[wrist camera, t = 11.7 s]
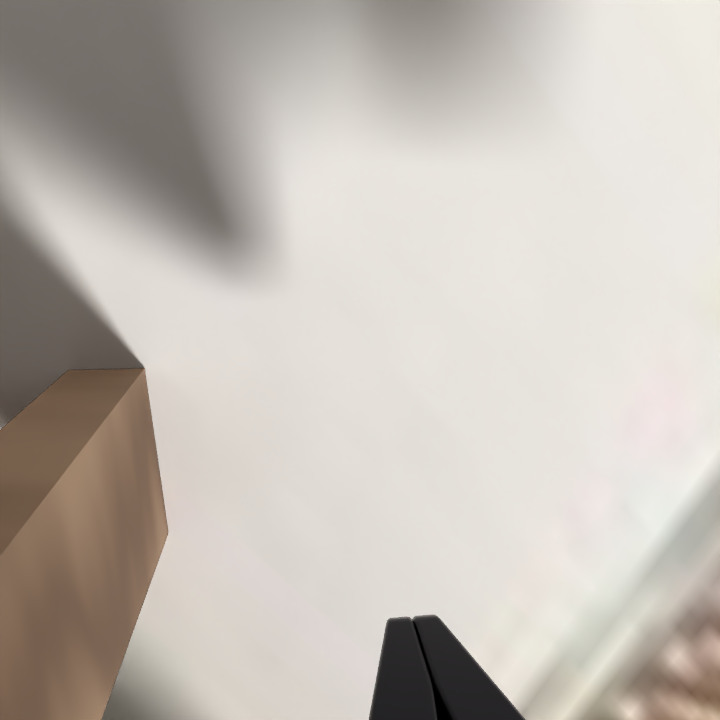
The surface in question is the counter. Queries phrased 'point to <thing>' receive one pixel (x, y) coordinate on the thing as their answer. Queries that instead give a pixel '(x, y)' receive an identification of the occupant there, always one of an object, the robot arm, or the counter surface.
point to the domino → (75, 541)
